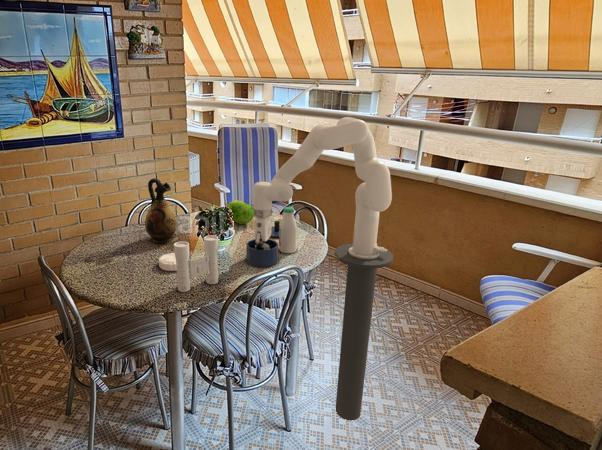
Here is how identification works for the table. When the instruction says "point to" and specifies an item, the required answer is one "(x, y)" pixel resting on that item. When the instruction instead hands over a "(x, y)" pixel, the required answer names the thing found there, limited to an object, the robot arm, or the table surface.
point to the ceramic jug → (160, 214)
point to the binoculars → (196, 263)
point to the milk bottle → (288, 231)
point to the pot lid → (275, 229)
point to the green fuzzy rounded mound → (241, 211)
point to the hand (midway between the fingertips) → (262, 252)
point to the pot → (262, 254)
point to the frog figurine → (264, 246)
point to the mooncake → (168, 262)
